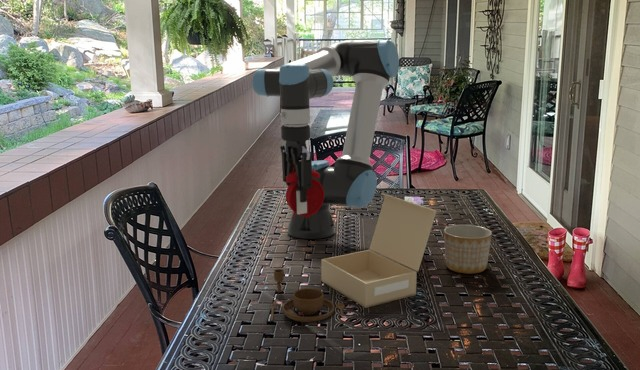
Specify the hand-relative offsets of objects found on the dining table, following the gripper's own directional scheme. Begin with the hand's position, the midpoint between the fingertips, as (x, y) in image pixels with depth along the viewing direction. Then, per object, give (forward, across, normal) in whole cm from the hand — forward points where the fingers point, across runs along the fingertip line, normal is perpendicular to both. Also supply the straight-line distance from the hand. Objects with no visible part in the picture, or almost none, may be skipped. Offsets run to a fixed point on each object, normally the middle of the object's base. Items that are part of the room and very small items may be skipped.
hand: (297, 211), depth 172 cm
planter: (+17, +23, +39) cm, 49 cm away
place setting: (+17, +22, -10) cm, 30 cm away
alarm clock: (+2, +2, +2) cm, 3 cm away
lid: (+10, +21, +15) cm, 28 cm away
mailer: (+16, +21, +8) cm, 28 cm away
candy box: (+17, +8, +32) cm, 38 cm away
